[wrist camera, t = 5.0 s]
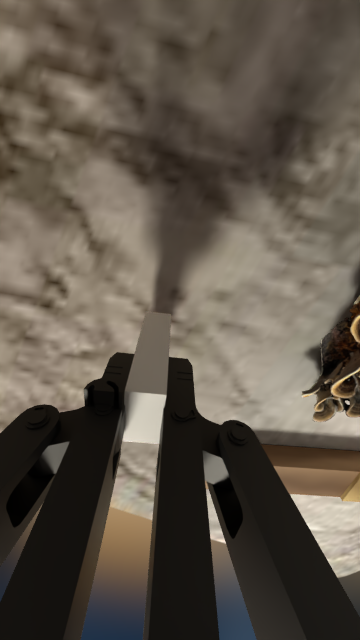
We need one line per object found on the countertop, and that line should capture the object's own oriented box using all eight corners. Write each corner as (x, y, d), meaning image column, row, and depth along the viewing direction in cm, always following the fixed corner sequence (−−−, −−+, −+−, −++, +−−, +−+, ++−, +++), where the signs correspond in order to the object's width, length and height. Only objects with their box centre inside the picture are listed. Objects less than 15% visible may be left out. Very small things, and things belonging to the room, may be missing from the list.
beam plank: (171, 437, 22) (168, 537, 16) (478, 459, 24) (588, 557, 17) (167, 464, 24) (163, 563, 18) (452, 483, 26) (542, 579, 19)
